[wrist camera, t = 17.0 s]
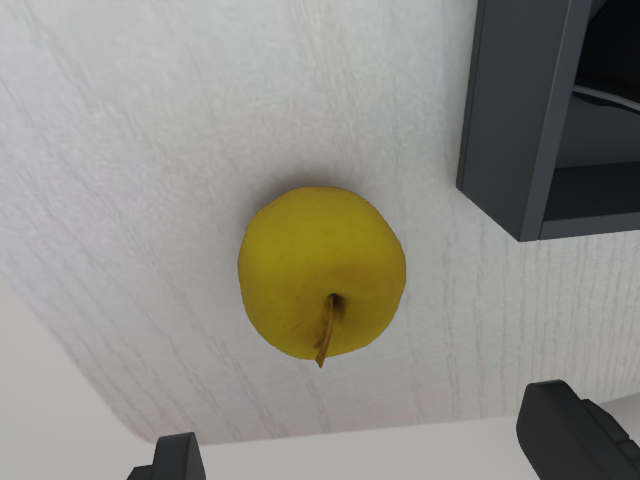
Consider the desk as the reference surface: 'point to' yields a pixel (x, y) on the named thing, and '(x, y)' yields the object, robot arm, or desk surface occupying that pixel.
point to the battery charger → (611, 58)
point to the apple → (320, 272)
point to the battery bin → (544, 127)
